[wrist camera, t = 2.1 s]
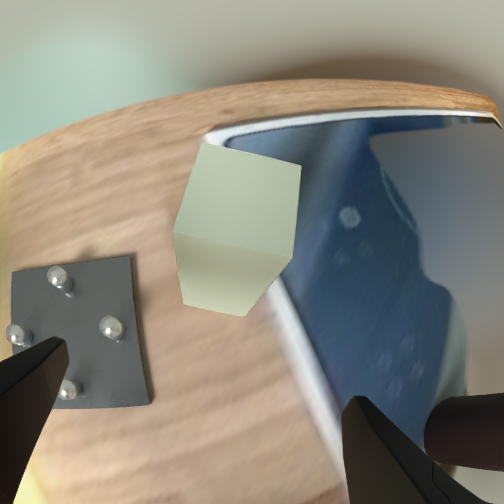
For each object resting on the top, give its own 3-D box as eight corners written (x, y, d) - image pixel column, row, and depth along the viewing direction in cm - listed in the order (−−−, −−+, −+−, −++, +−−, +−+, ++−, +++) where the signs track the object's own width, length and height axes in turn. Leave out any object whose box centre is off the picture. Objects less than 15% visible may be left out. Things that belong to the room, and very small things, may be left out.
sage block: (243, 317, 22) (292, 257, 11) (183, 304, 22) (172, 231, 11) (253, 261, 24) (301, 165, 13) (197, 249, 24) (201, 142, 13)
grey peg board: (150, 403, 18) (144, 408, 16) (23, 406, 16) (6, 408, 14) (131, 258, 22) (124, 245, 20) (15, 274, 20) (0, 263, 17)
